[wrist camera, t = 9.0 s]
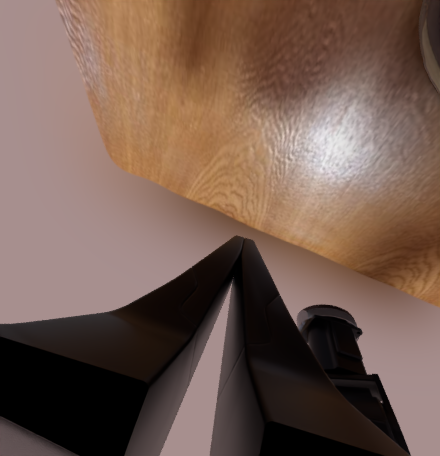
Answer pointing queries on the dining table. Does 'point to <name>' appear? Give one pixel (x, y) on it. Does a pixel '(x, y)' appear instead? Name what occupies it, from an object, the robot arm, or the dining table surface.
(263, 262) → the robot arm
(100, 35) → the dining table surface
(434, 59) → the boat shoe
